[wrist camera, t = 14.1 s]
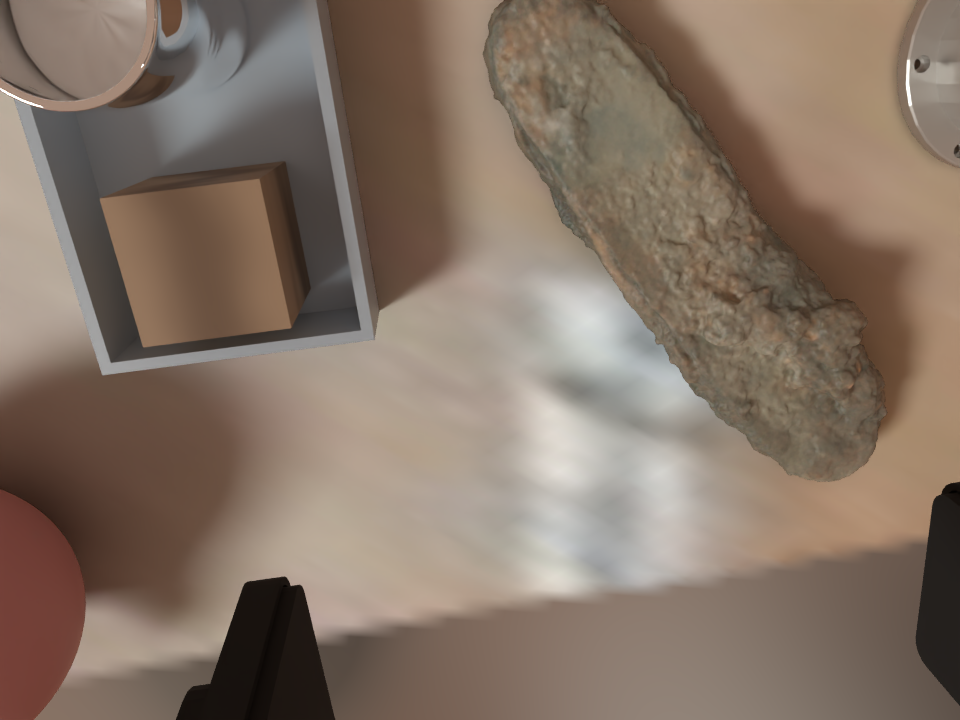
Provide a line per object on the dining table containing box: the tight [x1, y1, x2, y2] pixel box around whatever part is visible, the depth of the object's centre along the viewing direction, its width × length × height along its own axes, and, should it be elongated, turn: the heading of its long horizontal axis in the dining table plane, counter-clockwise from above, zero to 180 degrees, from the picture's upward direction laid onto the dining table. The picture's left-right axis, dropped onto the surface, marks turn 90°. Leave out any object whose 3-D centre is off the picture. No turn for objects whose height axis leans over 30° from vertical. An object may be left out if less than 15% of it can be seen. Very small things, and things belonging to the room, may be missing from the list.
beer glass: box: [0, 0, 248, 113], centre depth 30 cm, size 7×7×15 cm
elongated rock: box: [483, 0, 887, 482], centre depth 42 cm, size 35×5×10 cm
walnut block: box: [100, 161, 311, 347], centre depth 38 cm, size 7×7×7 cm
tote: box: [14, 0, 379, 375], centre depth 37 cm, size 14×22×5 cm, turn 6°
